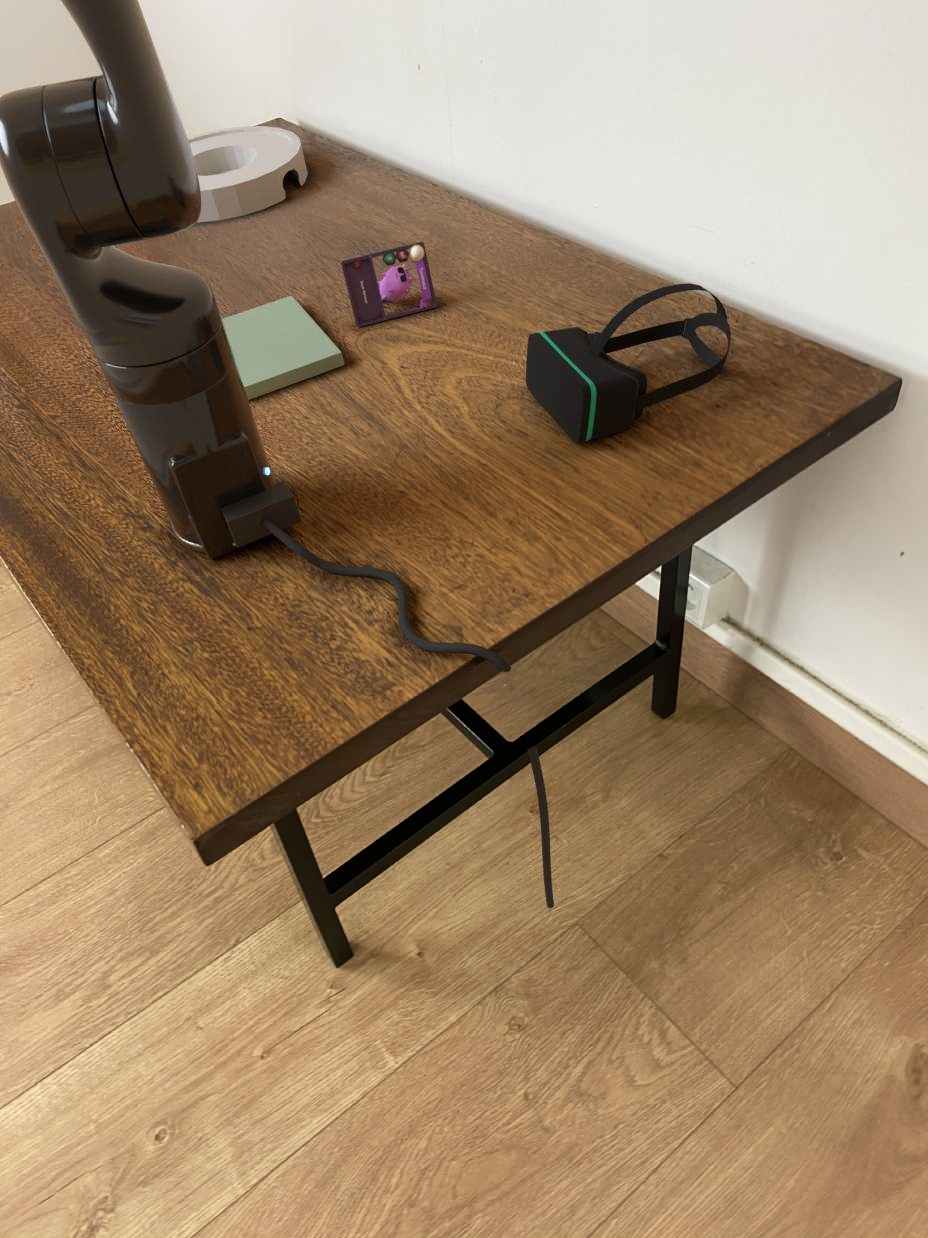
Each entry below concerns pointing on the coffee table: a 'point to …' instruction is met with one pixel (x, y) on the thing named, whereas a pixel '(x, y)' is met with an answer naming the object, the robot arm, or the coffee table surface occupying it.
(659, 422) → the coffee table surface
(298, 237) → the coffee table surface
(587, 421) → the virtual reality headset
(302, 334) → the notebook
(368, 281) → the game card
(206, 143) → the white notched ring
